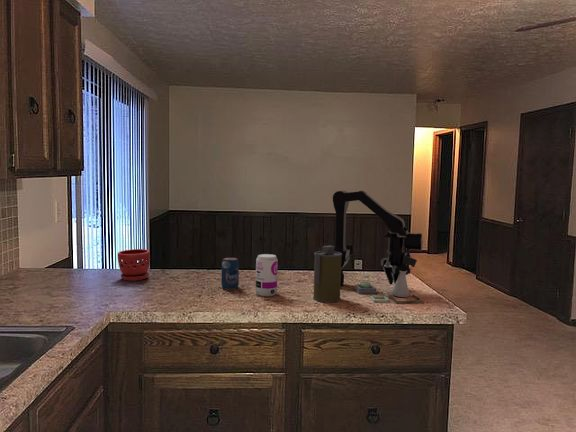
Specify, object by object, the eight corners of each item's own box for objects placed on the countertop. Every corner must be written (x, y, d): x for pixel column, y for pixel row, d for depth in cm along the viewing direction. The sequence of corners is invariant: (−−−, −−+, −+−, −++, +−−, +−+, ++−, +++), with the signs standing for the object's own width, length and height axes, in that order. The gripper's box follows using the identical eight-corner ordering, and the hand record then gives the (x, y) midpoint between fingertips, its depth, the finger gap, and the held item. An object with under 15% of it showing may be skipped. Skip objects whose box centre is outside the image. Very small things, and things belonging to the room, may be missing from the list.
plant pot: (137, 274, 216) (137, 247, 215) (156, 278, 208) (156, 250, 207) (111, 278, 205) (111, 251, 204) (130, 283, 198) (130, 254, 197)
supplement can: (280, 292, 188) (281, 255, 187) (270, 297, 181) (271, 258, 180) (262, 290, 192) (262, 253, 190) (251, 295, 184) (252, 256, 183)
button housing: (358, 293, 190) (359, 288, 190) (354, 289, 197) (354, 284, 197) (376, 293, 191) (376, 288, 191) (371, 289, 198) (371, 284, 198)
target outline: (396, 303, 177) (396, 300, 177) (388, 296, 187) (388, 294, 187) (423, 303, 178) (423, 300, 178) (413, 296, 188) (413, 293, 188)
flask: (409, 298, 185) (412, 274, 182) (390, 296, 186) (393, 272, 183) (409, 291, 192) (412, 267, 189) (390, 289, 193) (393, 265, 190)
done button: (361, 288, 192) (361, 284, 191) (359, 286, 196) (359, 281, 195) (371, 288, 192) (371, 283, 192) (368, 286, 196) (368, 281, 196)
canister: (325, 293, 189) (326, 243, 187) (346, 299, 181) (348, 246, 179) (306, 298, 181) (307, 245, 179) (327, 304, 174) (329, 249, 172)
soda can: (227, 290, 190) (228, 260, 189) (218, 287, 195) (218, 258, 194) (242, 288, 194) (242, 258, 193) (232, 284, 200) (232, 256, 198)
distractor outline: (374, 302, 178) (374, 300, 178) (369, 297, 184) (369, 295, 184) (389, 302, 179) (390, 300, 179) (384, 297, 185) (384, 295, 185)
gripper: (424, 252, 186) (422, 292, 188) (406, 244, 204) (404, 280, 206) (396, 252, 185) (394, 292, 186) (381, 244, 203) (379, 281, 205)
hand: (394, 286), depth 196 cm, fingers open, 7 cm apart
